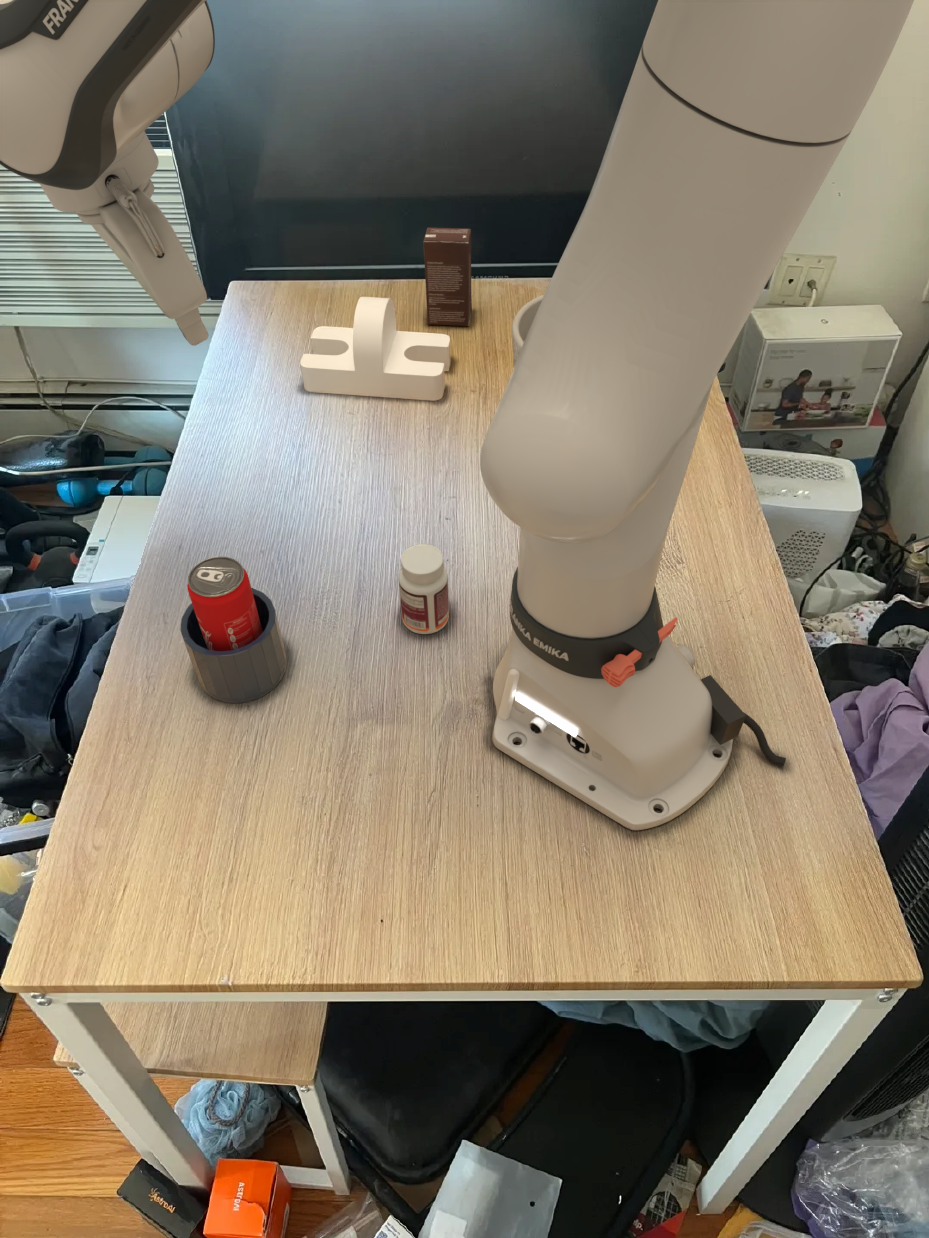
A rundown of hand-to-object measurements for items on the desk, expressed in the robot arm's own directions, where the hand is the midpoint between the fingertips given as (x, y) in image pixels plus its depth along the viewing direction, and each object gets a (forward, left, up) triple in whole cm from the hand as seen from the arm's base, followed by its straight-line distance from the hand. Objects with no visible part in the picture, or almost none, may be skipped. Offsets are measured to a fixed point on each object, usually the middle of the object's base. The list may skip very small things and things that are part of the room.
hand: (180, 318), depth 79 cm
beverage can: (-16, +10, -26) cm, 32 cm away
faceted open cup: (-16, +10, -26) cm, 32 cm away
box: (+17, -46, -26) cm, 56 cm away
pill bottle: (-23, -7, -26) cm, 35 cm away
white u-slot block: (+13, -30, -26) cm, 42 cm away
